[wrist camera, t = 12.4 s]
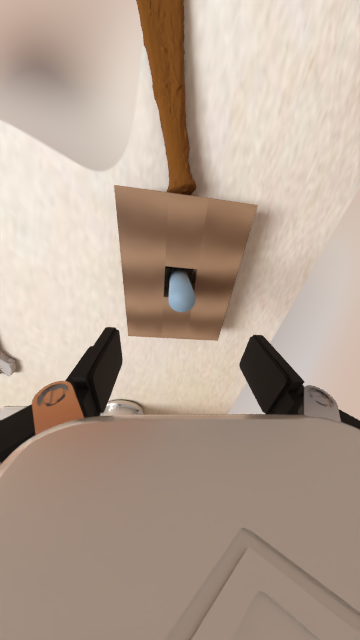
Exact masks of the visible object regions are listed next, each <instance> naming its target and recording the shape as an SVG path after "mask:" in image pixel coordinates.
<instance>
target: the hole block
mask: <svg viewBox="0 0 360 640" xmlns="http://www.w3.org/2000/svg"><path fill="white" fill-rule="evenodd" d="M114 188H115V199H116V209H117V220H118V231H119V241H120V252H121V262H122V273H123V284H124V294H125V305H126V316H127V326H128V336H140V337H159V338H178V339H197V340H216V341H218V338H219V335H220V331H221V328H222V324H223V321H224V318H225V314H226V311H227V307H228V304H229V300H230V297H231V294H232V290H233V287H234V283H235V280H236V277H237V273H238V270H239V266H240V263H241V260H242V256H243V253H244V249H245V246H246V243H247V239H248V236H249V232H250V229H251V226H252V222H253V219H254V215H255V212H256V209H257V205H254V204H247V203H239V202H232V201H225V200H218V199H211V198H204V197H197V196H189V195H182V194H175V193H168V192H161V191H154V190H147V189H139V188H132V187H125V186H118V185H114ZM166 266H169V267H179V268H190V269H193V275H192V282H191V286H192V288H193V291H194V294H195V298H196V301H195V304H194V306H193V308H192V309H190V310H189V311H187V312H177V311H175V310H173V309H172V308H171V307H170V305H169V288H165V272H166Z"/></svg>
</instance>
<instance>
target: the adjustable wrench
mask: <svg viewBox="0 0 360 640" xmlns="http://www.w3.org/2000/svg"><path fill="white" fill-rule="evenodd" d="M0 367H3V368H1V369H0V370H2V371H3V372H4V373H5V374H6V375H7V376H10V375H12V374H13V373H14V372H15V371H16V364H15V360H13V359H12V358H9V357H8V356H6V355H5V354H4V353H3V352H2V351H1V350H0ZM0 374H1V373H0Z"/></svg>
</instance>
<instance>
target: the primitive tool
mask: <svg viewBox="0 0 360 640" xmlns="http://www.w3.org/2000/svg"><path fill="white" fill-rule="evenodd" d="M136 1H137V5H138V10H139V14H140V21H141V27H142V31H143V39H144V46H145V48H146V51H147V54H148V60H149V65H150V70H151V75H152V81H153V86H152V87H153V91H154V98H155V100H156V103H157V106H158V109H159V114H160V121H161V128H162V132H163V136H164V141H165V147H166V155H167V160H168V168H169V187H168V190H167V192H168V193H175V194H182V195H190V194H191V193H192V192H193V191H194V190H195V189H196V183H195V181H194V180H193V178H192V175H191V173H190V166H189V163H188V155H189V142H188V137H187V132H186V113H185V82H184V46H183V42H184V25H183V21H184V6H183V0H136Z"/></svg>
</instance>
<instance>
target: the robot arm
mask: <svg viewBox="0 0 360 640" xmlns="http://www.w3.org/2000/svg"><path fill="white" fill-rule="evenodd" d="M121 365H122V351H121V343H120V335H119V330H116V328H112V327H106V328H105V329H104V331H103V332H102V334H101V335H100V337H99V338H98V340H97V341H96V343H95V344H94V346H91V347H89V348H88V350H87V351H86V353H85V354H84V355H83V357H82V358H81V360H80V361H79V362H78V364H77V365H76V367H75V368H74V369H73V371H72V372H71V374H70V375H69V376H68V378H67V379H66V381H58V382H54V383H51V384H49V385H47V386H45V387H44V388H42V389H41V390H40V391H39V392H38V393H37V394H36V395H35V396H34V398H33V400H32V404H31V405H29V406H28V407H26V408H24V409H22V410H20V411H18V412H16V413H14V414H12V415H10V416H8V417H6V418H4V419H2V420H1V421H0V640H360V421H359V420H358V419H355V418H354V417H352V416H350V415H348V414H347V413H344V412H342V411H341V410H339V409H338V406H337V403H336V402H335V400H334V399H333V398H332V397H331V396H330V395H329V394H328V393H326V392H325V391H324V390H322V389H320V388H318V387H315V386H311V385H309V386H306V387H304V386H303V385H302V384H303V383H304V381H303V380H302V378H301V377H300V376H299V375H298V374H297V373H296V372H295V371H294V370H293V369H292V367H291V366H290V365H289V364H288V363H287V362H286V361H285V360H284V359H283V357H282V356H281V355H280V354H279V353H278V352H277V351H276V350H275V349H274V347H273V346H272V345H271V344H270V343H269V342H268V341H267V340H266V339H265V337H264V336H262V335H253V336H252V337H250V339H249V342H248V344H247V347H246V349H245V352H244V354H243V356H242V359H241V361H240V369H241V371H242V373H243V375H244V376H245V378H246V380H247V382H248V384H249V386H250V388H251V390H252V392H253V394H254V396H255V398H256V399H257V401H258V404H259V405H260V407H261V409H262V411H263V412H264V413H265V414H177V415H143V414H144V411H143V409H142V408H141V407H140V406H139V405H138V404H136V403H133V402H130V401H125V400H114V401H110V402H108V401H109V398H110V395H111V392H112V390H113V387H114V384H115V382H116V379H117V376H118V373H119V371H120V368H121Z"/></svg>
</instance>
